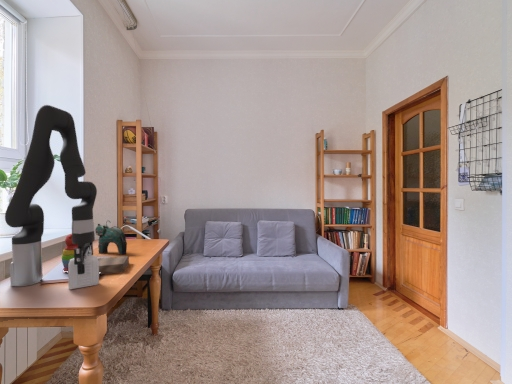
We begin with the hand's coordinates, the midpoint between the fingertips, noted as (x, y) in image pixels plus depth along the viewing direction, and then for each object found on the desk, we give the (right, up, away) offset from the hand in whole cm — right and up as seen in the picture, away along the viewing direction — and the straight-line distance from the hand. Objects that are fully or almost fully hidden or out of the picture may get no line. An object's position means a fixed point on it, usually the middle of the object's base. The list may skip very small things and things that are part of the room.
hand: (84, 270), depth 102 cm
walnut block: (-2, -6, +21) cm, 21 cm away
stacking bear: (-18, -6, +20) cm, 27 cm away
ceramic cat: (-17, -5, +49) cm, 52 cm away
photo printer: (0, -7, 0) cm, 7 cm away
